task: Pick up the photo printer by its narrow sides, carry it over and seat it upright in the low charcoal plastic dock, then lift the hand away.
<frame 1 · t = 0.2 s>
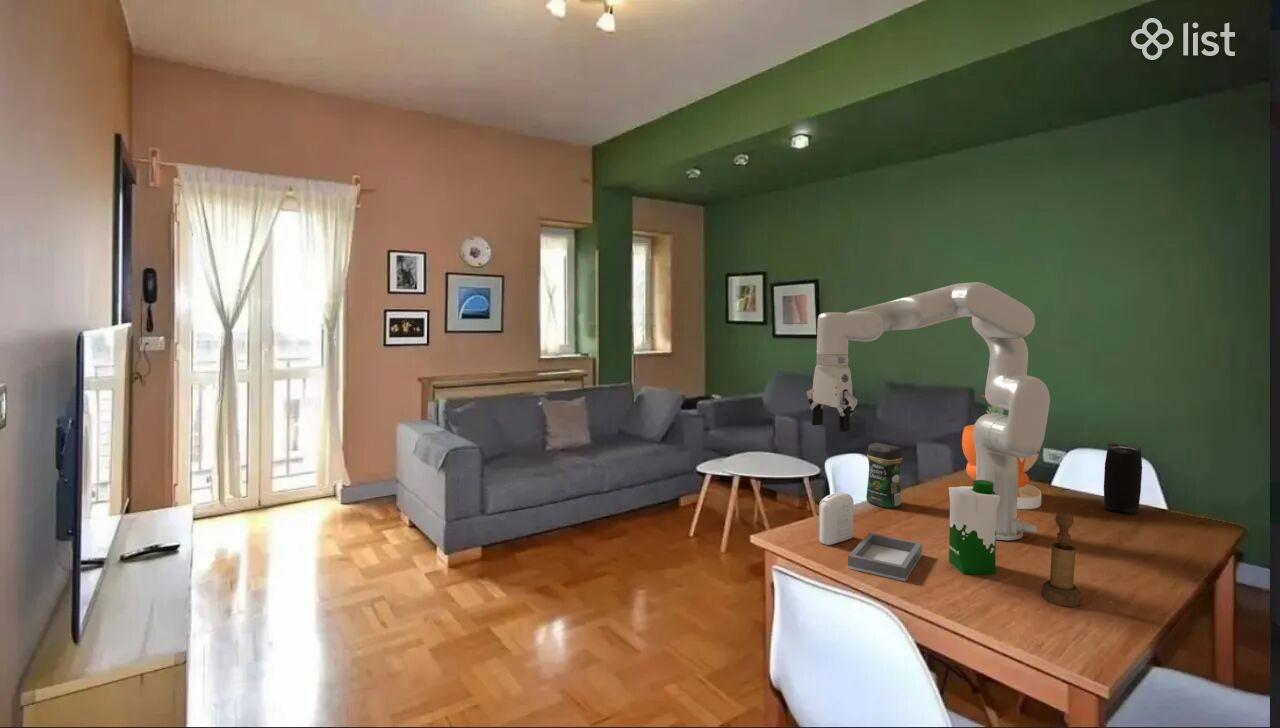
hand: (830, 428, 154), 29 cm above the table, tool pointing down, fingers open, 9 cm apart
milk carton: (971, 568, 138), on the table
dock: (885, 561, 143), on the table
coffee jar: (883, 504, 185), on the table
mortar and pestle: (1060, 600, 123), on the table
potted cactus: (999, 498, 189), on the table
portable speaker: (1121, 511, 175), on the table
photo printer: (836, 540, 157), on the table
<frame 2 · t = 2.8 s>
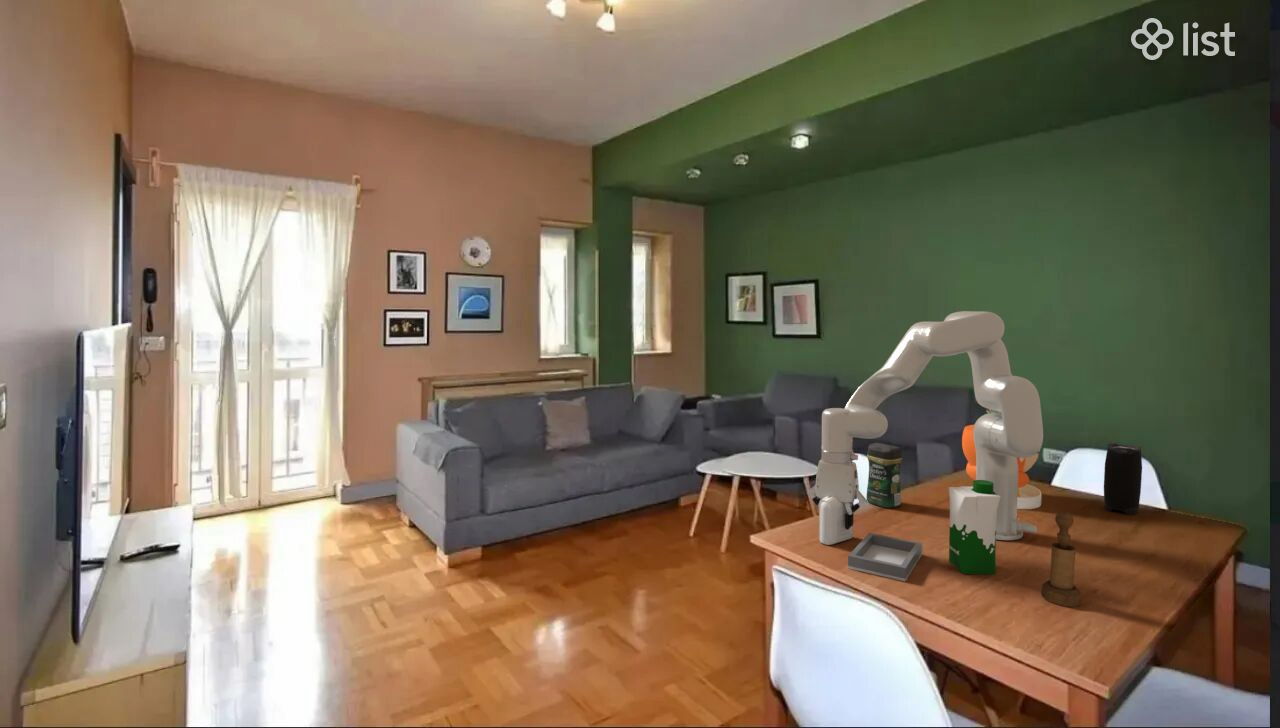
hand: (836, 524, 156), 4 cm above the table, tool pointing down, fingers closed on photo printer, 5 cm apart
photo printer: (836, 540, 157), on the table, touching gripper
everything else where it was.
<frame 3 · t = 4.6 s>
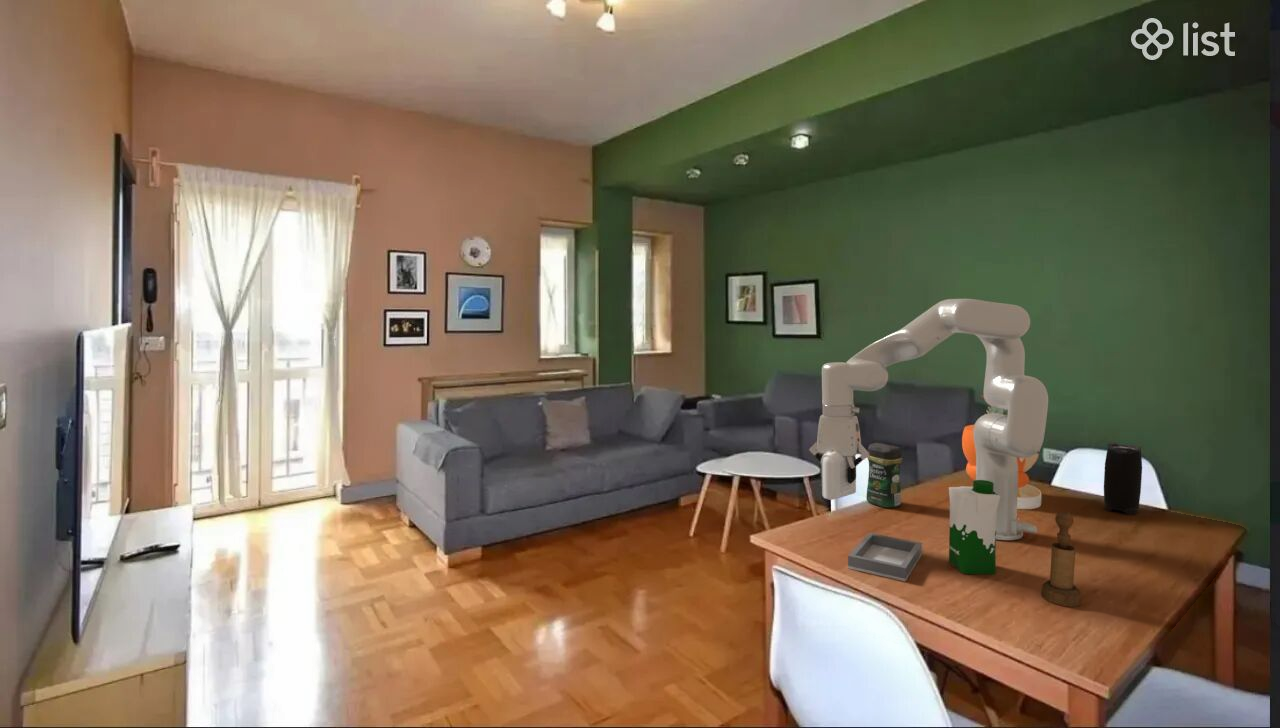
hand: (839, 479, 155), 16 cm above the table, tool pointing down, fingers closed on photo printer, 5 cm apart
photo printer: (839, 496, 156), point 12 cm above the table, touching gripper
everything else where it was.
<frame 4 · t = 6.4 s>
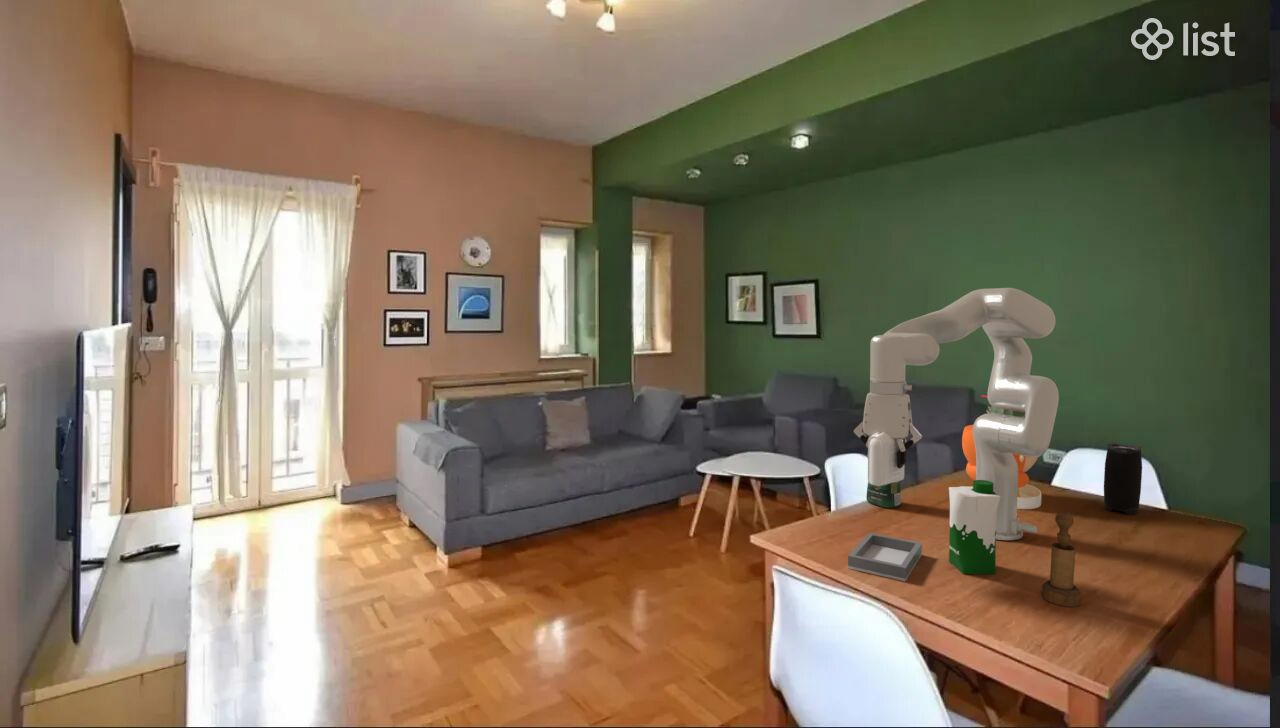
hand: (886, 464, 141), 23 cm above the table, tool pointing down, fingers closed on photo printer, 5 cm apart
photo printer: (886, 482, 141), point 19 cm above the table, touching gripper
everything else where it was.
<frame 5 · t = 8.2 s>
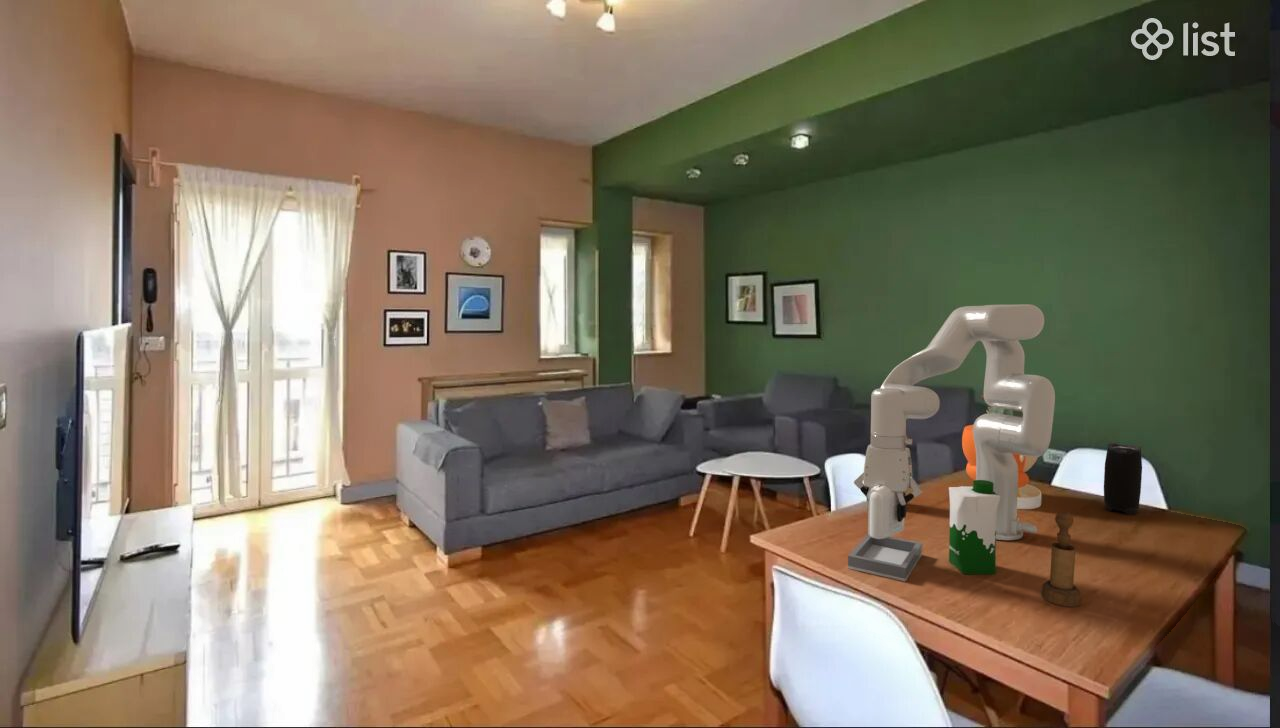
hand: (886, 516, 142), 11 cm above the table, tool pointing down, fingers closed on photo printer, 5 cm apart
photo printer: (886, 534, 142), point 7 cm above the table, touching gripper
everything else where it was.
when the fingers open (6 cm above the table, at t = 9.6 s): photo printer drops 1 cm, resting on dock.
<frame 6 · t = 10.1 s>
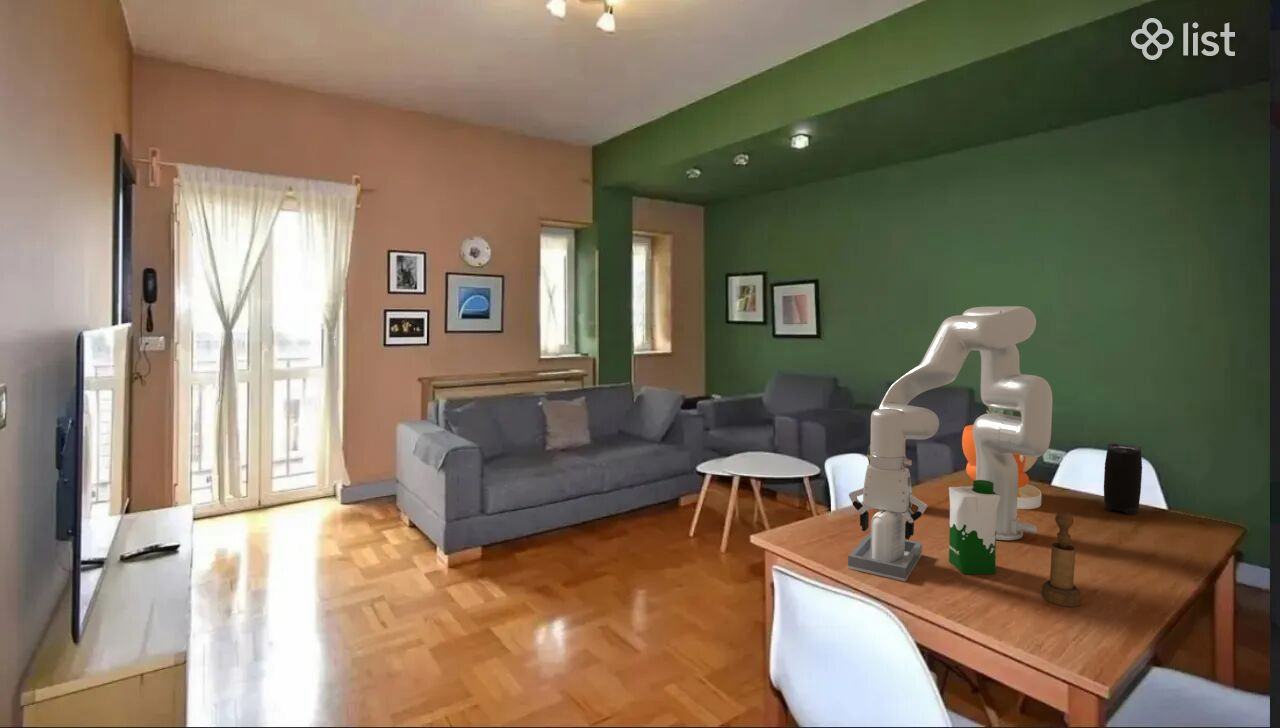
hand: (886, 533, 142), 7 cm above the table, tool pointing down, fingers open, 9 cm apart
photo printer: (887, 560, 143), resting on dock
everything else where it was.
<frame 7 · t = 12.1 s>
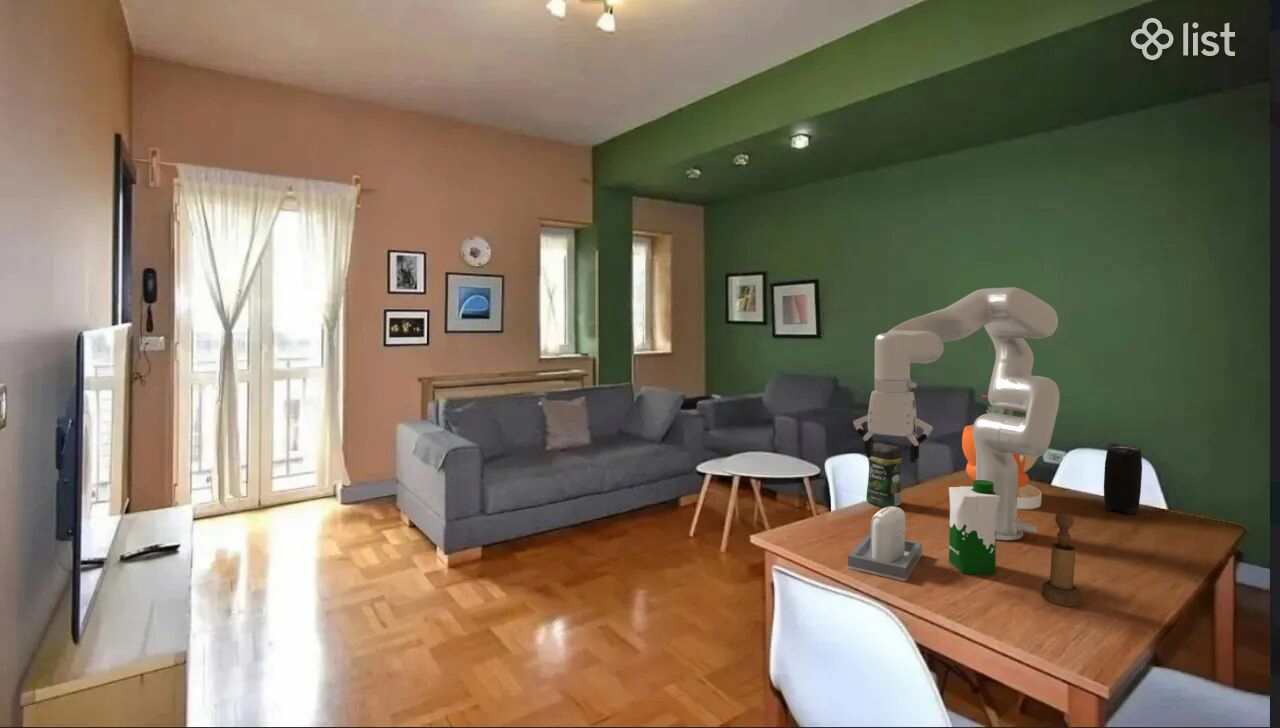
hand: (891, 459, 141), 25 cm above the table, tool pointing down, fingers open, 9 cm apart
nothing on the table moved.
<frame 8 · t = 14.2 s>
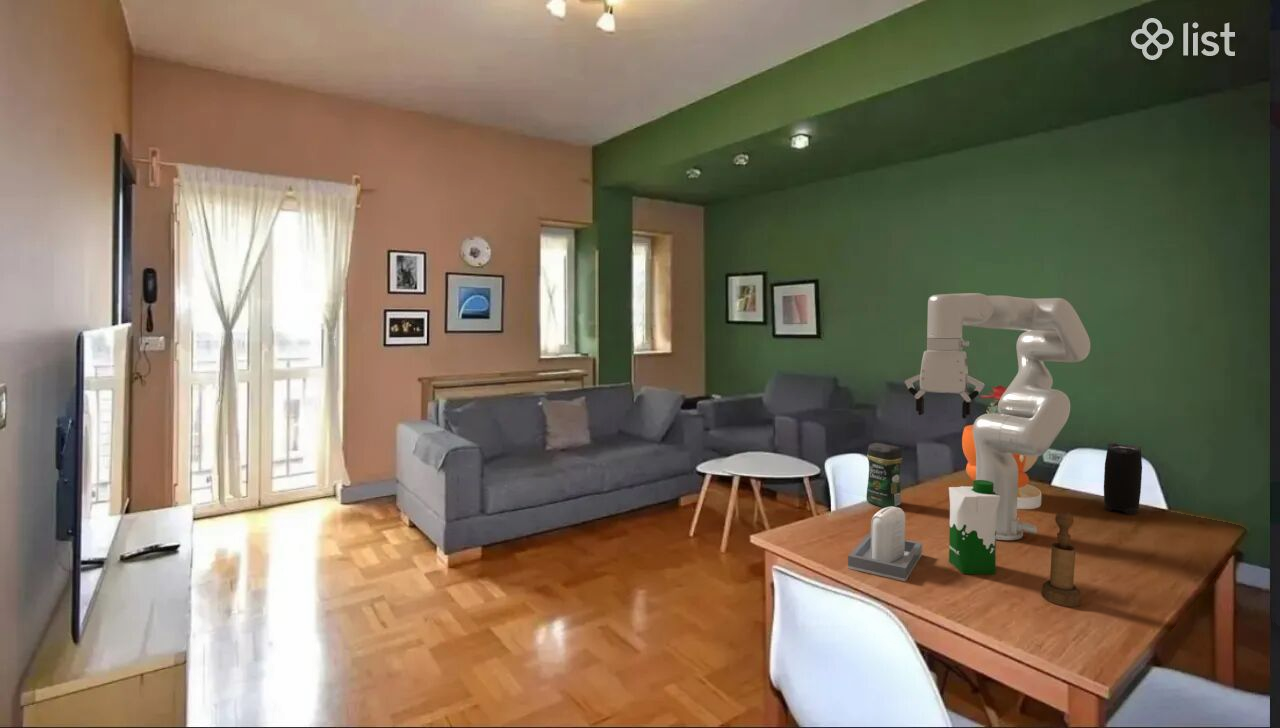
hand: (942, 416, 147), 33 cm above the table, tool pointing down, fingers open, 9 cm apart
nothing on the table moved.
at the end: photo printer inside the target area on the dock (0.4 cm from its centre), point 0.4 cm above the dock's base; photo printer tilted 0°; the gripper is holding nothing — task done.
